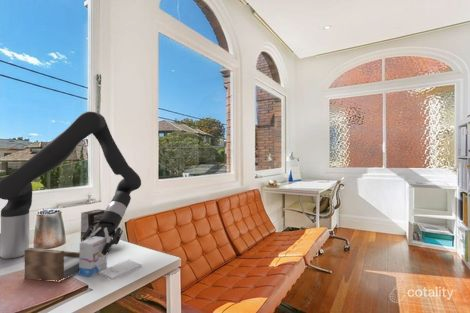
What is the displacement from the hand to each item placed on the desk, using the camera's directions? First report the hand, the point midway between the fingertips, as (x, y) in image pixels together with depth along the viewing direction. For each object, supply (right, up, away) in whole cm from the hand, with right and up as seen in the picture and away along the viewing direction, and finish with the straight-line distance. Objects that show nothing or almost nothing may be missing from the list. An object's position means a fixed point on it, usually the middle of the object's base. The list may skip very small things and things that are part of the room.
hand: (93, 253), depth 95 cm
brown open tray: (-12, -7, 0) cm, 14 cm away
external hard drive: (+10, -8, +1) cm, 12 cm away
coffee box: (-14, -6, +27) cm, 31 cm away
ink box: (0, -7, 0) cm, 7 cm away
